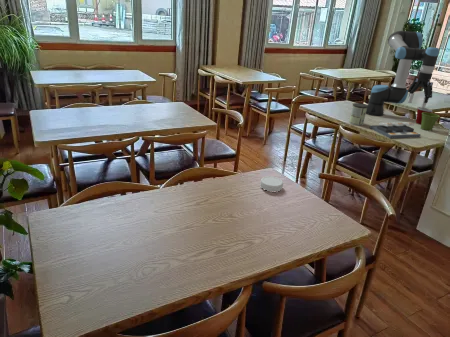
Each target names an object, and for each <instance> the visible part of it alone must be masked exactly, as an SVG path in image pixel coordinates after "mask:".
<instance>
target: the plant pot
mask: <svg viewBox="0 0 450 337" xmlns="http://www.w3.org/2000/svg"><path fill="white" fill-rule="evenodd" d="M440 117H441V116H440V115H439V114H436V113H433V112H431V113H426V112H424V113H422V122H421V124H420V129H421V130H424V131H428V132H429V131H432V129H433V128H434V126H435V124H436V123H437V121H438V120H439V118H440Z"/></svg>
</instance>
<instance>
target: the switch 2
mask: <svg viewBox="0 0 450 337" xmlns="http://www.w3.org/2000/svg"><path fill="white" fill-rule="evenodd" d="M399 123H403V124H404V125H406V126H409V127H412V126H415V122H414V123H413V122H408V121H407V122H406V121H403V122H399Z"/></svg>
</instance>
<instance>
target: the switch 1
mask: <svg viewBox="0 0 450 337" xmlns="http://www.w3.org/2000/svg"><path fill="white" fill-rule="evenodd" d="M391 123H392V122H379V123H378V125H382V126H393V124H391Z"/></svg>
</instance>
